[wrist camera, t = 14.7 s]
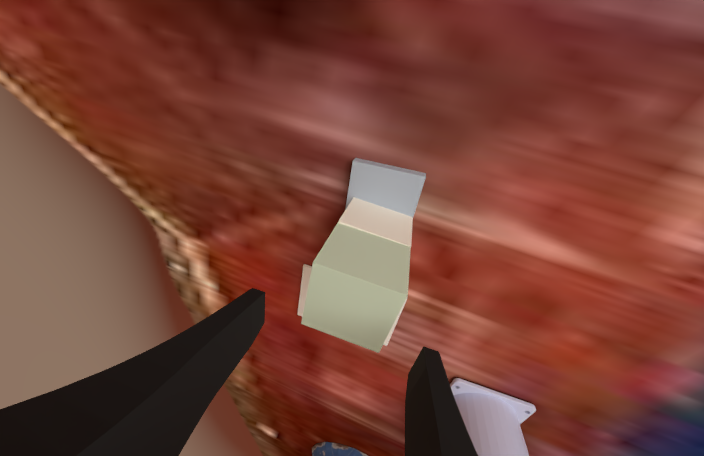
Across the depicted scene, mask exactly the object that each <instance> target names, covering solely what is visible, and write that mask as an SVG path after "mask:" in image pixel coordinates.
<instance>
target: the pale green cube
mask: <svg viewBox="0 0 704 456" xmlns="http://www.w3.org/2000/svg"><path fill="white" fill-rule="evenodd" d="M410 248H411V247H409V246H406V245H403V244H400V243H397V242H394V241H391V240H388V239H385V238H382V237H379V236H376V235H373V234H370V233H367V232H364V231H361V230H358V229H355V228H352V227H349V226H345V225H342V224H339V223H337V225H336V226H335V228H334V229H333V231H332V233H331V234H330V236H329V237H328V239H327V241H326V242H325V244H324V245H323V247H322V249H321V250H320V252H319V253H318V255H317V257H316V258H315V260H314V261H313V265H312V270H311V275H310V280H309V285H308V290H307V296H306V301H305V306H304V311H303V316H302V321H301V324H303V325H306V326H309V327H311V328H314V329H317V330H319V331H322V332H325V333H327V334H330V335H333V336H335V337H338V338H341V339H343V340H346V341H349V342H351V343H354V344H357V345H359V346H362V347H365V348H367V349H370V350H373V351H375V352H378V353H379V352H380V350H381V348H382V346H383V344H384V342H385V340H386V338H387V336H388V334H389V332H390V330H391V328H392V326H393V324H394V322H395V320H396V318H397V316H398V314H399V312H400V310H401V308H402V306H403V304H404V302H405V300H406V298H407V296H408V282H409V265H410Z"/></svg>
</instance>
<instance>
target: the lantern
mask: <svg viewBox="0 0 704 456" xmlns="http://www.w3.org/2000/svg"><path fill="white" fill-rule="evenodd" d="M312 456H368V455H366V454H364V453H362V452H360V451H358V450H357V449H355V448H352V447H348V446H345V445H342V444H338V443H330V442H323V443H317V444H316V445H314V446H313V447H312Z"/></svg>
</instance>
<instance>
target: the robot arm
mask: <svg viewBox="0 0 704 456" xmlns="http://www.w3.org/2000/svg"><path fill="white" fill-rule="evenodd" d="M264 320H265V292H263V291H260V290H257V289H254V288H252V289H250V290H248V291H247V292H245V293H244V294H243V295H241V296H240V297H238V298H237V299H235V300H234V301H232V302H231V303H229V304H228V305H226V306H224V307H223V308H221V309H220V310H218V311H217V312H215V313H214V314H212V315H210V316H209V317H207V318H206V319H204V320H202V321H201V322H199V323H197V324H196V325H194V326H192V327H190V328H189V329H187V330H185V331H184V332H182V333H180V334H178V335H176V336H175V337H173V338H171V339H169V340H167V341H165V342H163V343H162V344H160V345H158V346H156V347H154V348H152V349H150V350H148V351H146V352H144V353H142V354H139V355H137V356H135V357H133V358H131V359H129V360H127V361H125V362H122V363H120V364H118V365H116V366H113V367H111V368H109V369H106V370H104V371H102V372H100V373H97V374H94V375H92V376H89V377H87V378H84V379H82V380H79V381H77V382H74V383H72V384H69V385H68V386H65V387H62V388H59V389H57V390H54V391H52V392H48V393H46V394H43V395H40V396H37V397H34V398H31V399H29V400H26V401H23V402H20V403H17V404H15V405H12V406H9V407H6V408H3V409H0V456H179V454H180V452H181V451H182V449H183V447H184V445H185V444H186V442H187V440H188V439H189V437H190V435H191V433H192V432H193V430H194V428H195V427H196V425H197V424H198V422H199V420H200V419H201V417H202V415H203V414H204V412H205V410H206V409H207V407H208V405H209V404H210V402H211V401H212V399H213V398H214V396H215V395H216V393H217V392H218V391H219V389H220V388H221V387H222V385H223V384H224V382H225V381H226V380H227V378H228V377H229V375H230V374H231V373H232V371H233V370H234V369H235V367H236V366H237V364H238V363H239V362H240V360H241V359H242V358H243V356H244V355H245V353H246V352H247V351H248V349H249V348H250V346H251V345H252V343H253V342H254V340H255V338H256V337H257V335H258V333H259V331H260V329H261V328H262V326H263V324H264ZM535 411H536V408H535V406H534V405H533V404H531V403H528V402H525V401H523V400H520V399H517V398H514V397H511V396H508V395H505V394H503V393H500V392H497V391H494V390H491V389H488V388H485V387H483V386H480V385H477V384H474V383H471V382H468V381H466V380H463V379H460V378H455V379H454V380H453V381H452V382H451V384H449V381H448V378H447V375H446V372H445V369H444V366H443V363H442V360H441V357H440V354H439V352H438V351H435V350H432V349H429V348H426V347H423V349H422V350H421V352H420V354H419V356H418V358H417V359H416V361H415V363H414V365H413V367H412V368H411V370H410V372H409V374H408V382H407V391H406V400H405V456H529V454H528V450H527V447H526V444H525V440H524V437H523V434H522V430H521V427H520V424H521V423H522V422H523V421H525V420H526V419H527V418H528V417H529V416H531V415H532V414H533V413H534V412H535Z"/></svg>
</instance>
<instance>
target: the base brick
mask: <svg viewBox="0 0 704 456" xmlns="http://www.w3.org/2000/svg"><path fill="white" fill-rule="evenodd" d="M425 178H426V173H422V172H418V171H413V170H409V169H404V168H399V167H395V166H390V165H386V164H381V163H377V162H372V161H368V160H363V159H358V158H355V159H354V160H353V163H352V169H351V176H350V182H349V189H348V195H347V202H346V208H347V207H348V205H349V204H350V202H351V201H352V199H353V197H355V198H358V199H361V200H364V201H367V202H370V203H373V204H376V205H379V206H381V207H384V208H387V209H390V210H393V211H396V212H399V213H402V214H405V215H408V216H411V217H413V216H414V213H415V210H416V207H417V203H418V200H419V197H420V194H421V191H422V187H423V184H424V181H425ZM346 208H345V210H346Z"/></svg>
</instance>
